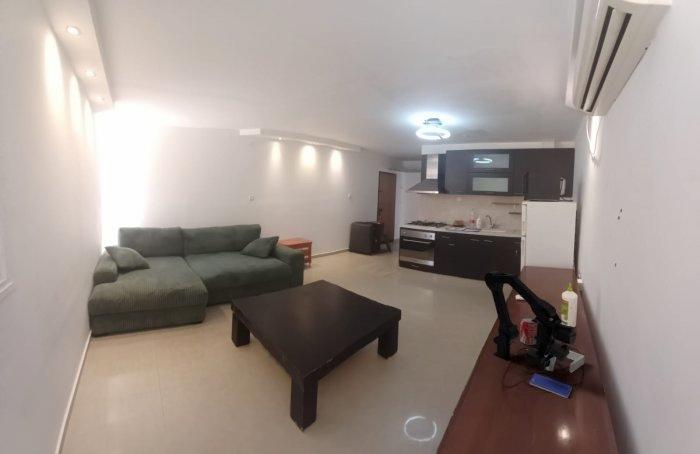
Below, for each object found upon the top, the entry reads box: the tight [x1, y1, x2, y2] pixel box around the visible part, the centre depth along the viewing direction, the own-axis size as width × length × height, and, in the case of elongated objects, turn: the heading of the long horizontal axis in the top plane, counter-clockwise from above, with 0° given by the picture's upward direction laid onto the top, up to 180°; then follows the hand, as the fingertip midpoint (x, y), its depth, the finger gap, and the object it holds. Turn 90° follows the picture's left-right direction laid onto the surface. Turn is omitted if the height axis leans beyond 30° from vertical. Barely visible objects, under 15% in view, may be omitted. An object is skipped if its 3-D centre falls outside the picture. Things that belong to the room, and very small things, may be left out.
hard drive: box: [529, 373, 573, 399], centre depth 120 cm, size 2×8×12 cm
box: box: [566, 349, 586, 374], centre depth 137 cm, size 13×14×4 cm
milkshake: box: [545, 356, 557, 372], centre depth 131 cm, size 4×5×10 cm
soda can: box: [519, 317, 537, 346], centre depth 154 cm, size 7×7×12 cm
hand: (542, 370), depth 128 cm, fingers closed, pressing on milkshake
